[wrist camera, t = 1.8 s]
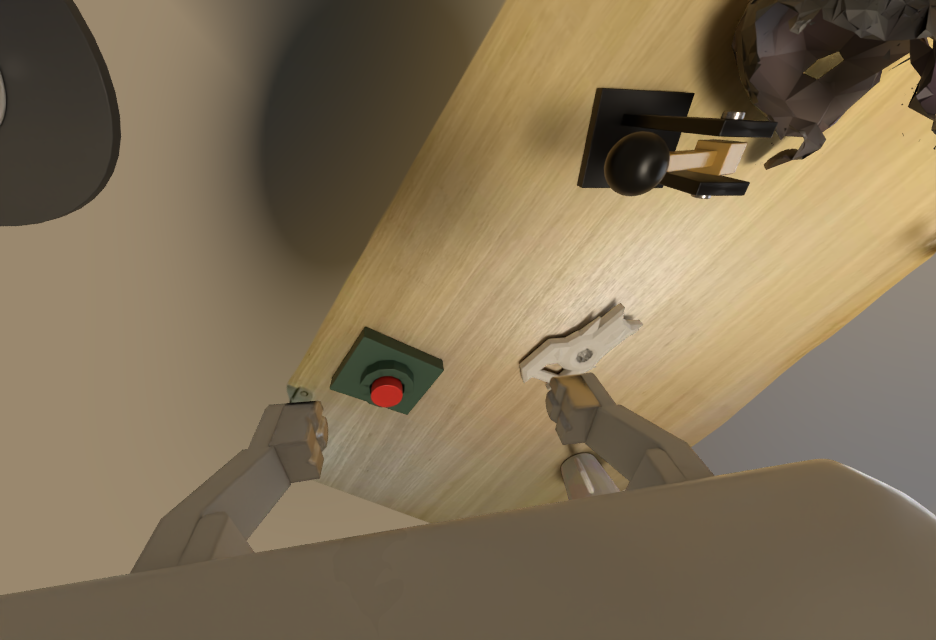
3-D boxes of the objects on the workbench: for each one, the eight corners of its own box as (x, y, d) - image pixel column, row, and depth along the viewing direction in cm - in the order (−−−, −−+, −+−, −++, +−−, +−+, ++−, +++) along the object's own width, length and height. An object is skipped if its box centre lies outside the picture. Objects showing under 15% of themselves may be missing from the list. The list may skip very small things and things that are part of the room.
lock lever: (586, 192, 22) (636, 204, 19) (600, 129, 20) (658, 134, 17) (692, 176, 29) (738, 184, 26) (710, 128, 27) (762, 132, 24)
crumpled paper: (877, 51, 34) (777, -114, 27) (1106, 39, 22) (1039, -259, 15) (751, 175, 41) (645, 69, 34) (877, 216, 29) (756, 67, 22)
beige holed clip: (614, 298, 42) (651, 333, 47) (601, 284, 45) (638, 318, 50) (514, 382, 49) (556, 405, 54) (508, 366, 52) (549, 389, 57)
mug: (560, 484, 73) (581, 532, 65) (541, 450, 65) (562, 501, 56) (605, 466, 72) (631, 513, 64) (591, 429, 64) (620, 477, 55)
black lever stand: (576, 185, 37) (653, 222, 26) (596, 88, 32) (702, 81, 21) (656, 185, 39) (761, 220, 28) (686, 93, 34) (829, 89, 23)
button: (366, 391, 44) (365, 401, 43) (380, 371, 43) (380, 381, 41) (393, 401, 46) (393, 410, 44) (408, 382, 44) (408, 391, 43)
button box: (331, 378, 46) (326, 399, 43) (365, 326, 43) (362, 345, 39) (407, 404, 52) (407, 424, 48) (442, 360, 48) (445, 379, 45)
